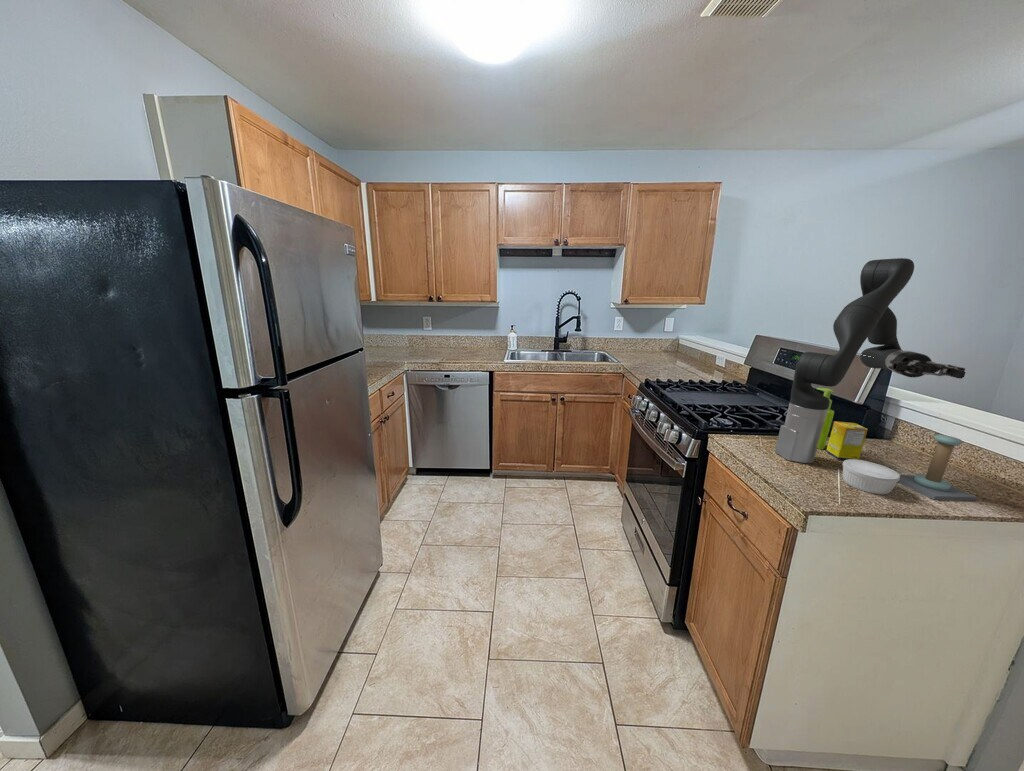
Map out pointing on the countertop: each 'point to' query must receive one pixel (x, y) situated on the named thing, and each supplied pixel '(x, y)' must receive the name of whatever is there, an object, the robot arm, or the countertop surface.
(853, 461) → the ramekin
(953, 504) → the countertop surface
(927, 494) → the mat
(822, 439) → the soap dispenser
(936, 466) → the teal-flanged spool
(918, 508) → the countertop surface
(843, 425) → the supplement box
